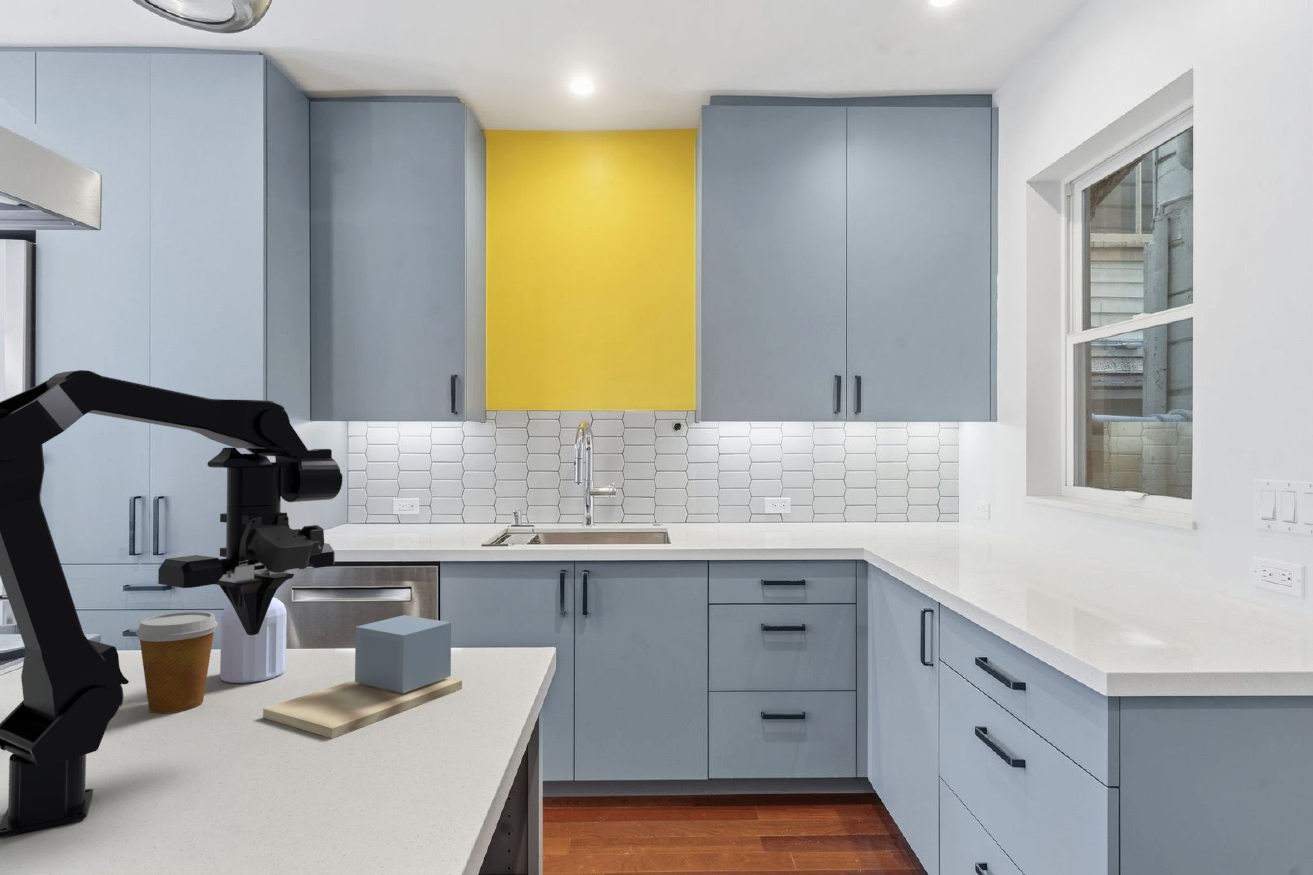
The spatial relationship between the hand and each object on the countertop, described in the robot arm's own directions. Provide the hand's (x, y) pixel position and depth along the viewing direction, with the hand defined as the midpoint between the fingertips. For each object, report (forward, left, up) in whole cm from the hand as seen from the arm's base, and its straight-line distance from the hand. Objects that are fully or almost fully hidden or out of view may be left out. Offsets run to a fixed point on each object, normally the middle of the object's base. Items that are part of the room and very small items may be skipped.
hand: (252, 634), depth 88 cm
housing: (+11, -20, -11) cm, 26 cm away
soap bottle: (+31, -2, -13) cm, 33 cm away
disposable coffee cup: (+21, +8, -13) cm, 26 cm away
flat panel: (+8, -15, -13) cm, 21 cm away
